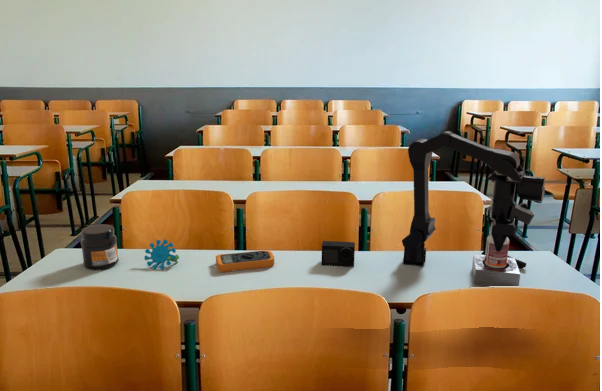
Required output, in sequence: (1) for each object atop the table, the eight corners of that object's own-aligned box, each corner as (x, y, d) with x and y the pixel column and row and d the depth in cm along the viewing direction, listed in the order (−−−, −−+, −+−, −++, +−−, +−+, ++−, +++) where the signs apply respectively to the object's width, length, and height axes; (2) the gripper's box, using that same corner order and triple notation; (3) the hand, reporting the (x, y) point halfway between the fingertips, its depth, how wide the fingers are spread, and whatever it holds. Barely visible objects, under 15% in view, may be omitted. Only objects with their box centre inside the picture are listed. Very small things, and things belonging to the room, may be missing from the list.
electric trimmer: (520, 273, 159) (521, 264, 158) (480, 256, 172) (481, 247, 171) (528, 270, 161) (529, 261, 160) (487, 253, 174) (488, 245, 173)
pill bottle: (510, 268, 151) (515, 231, 147) (491, 269, 149) (496, 233, 146) (498, 259, 156) (502, 224, 153) (480, 261, 155) (484, 226, 152)
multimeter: (276, 268, 162) (275, 258, 161) (218, 274, 158) (218, 264, 157) (270, 258, 170) (270, 248, 169) (215, 263, 165) (215, 253, 165)
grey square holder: (474, 285, 150) (475, 269, 148) (471, 268, 161) (473, 254, 160) (518, 290, 147) (520, 274, 146) (512, 273, 158) (514, 258, 157)
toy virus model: (138, 263, 160) (151, 235, 165) (144, 270, 165) (157, 242, 170) (170, 271, 158) (182, 242, 163) (176, 278, 163) (187, 250, 168)
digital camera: (320, 267, 162) (321, 246, 160) (322, 260, 167) (322, 240, 166) (353, 268, 161) (354, 248, 159) (354, 262, 166) (354, 241, 164)
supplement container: (119, 268, 161) (115, 232, 157) (82, 273, 157) (78, 236, 154) (118, 256, 170) (115, 222, 167) (84, 260, 167) (80, 225, 164)
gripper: (539, 208, 136) (531, 262, 141) (528, 190, 154) (521, 239, 158) (495, 204, 139) (488, 258, 143) (489, 187, 156) (483, 235, 161)
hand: (497, 247), depth 151 cm, fingers closed on pill bottle, 6 cm apart
